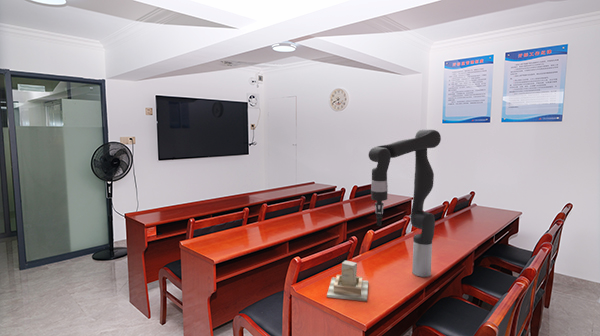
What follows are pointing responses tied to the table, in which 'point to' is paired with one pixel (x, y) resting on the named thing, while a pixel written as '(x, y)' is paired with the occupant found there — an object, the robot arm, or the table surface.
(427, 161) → the robot arm
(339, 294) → the square collar plate
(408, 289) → the table surface
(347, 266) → the skincare box
